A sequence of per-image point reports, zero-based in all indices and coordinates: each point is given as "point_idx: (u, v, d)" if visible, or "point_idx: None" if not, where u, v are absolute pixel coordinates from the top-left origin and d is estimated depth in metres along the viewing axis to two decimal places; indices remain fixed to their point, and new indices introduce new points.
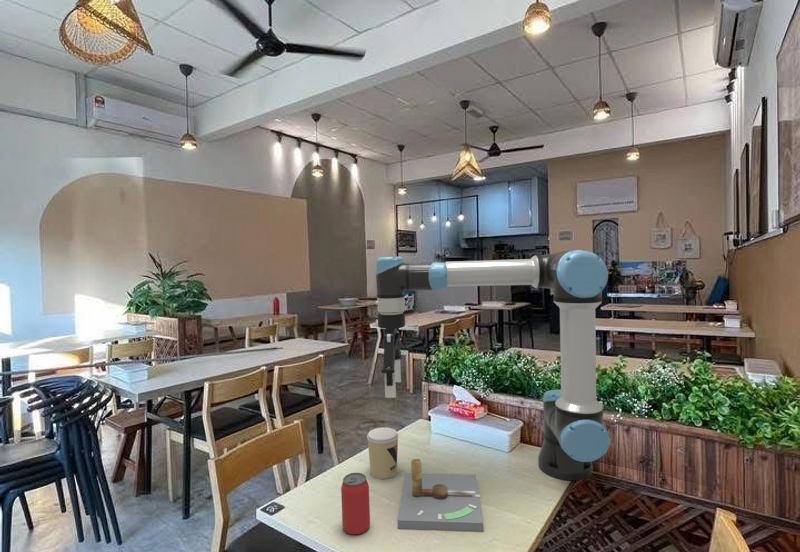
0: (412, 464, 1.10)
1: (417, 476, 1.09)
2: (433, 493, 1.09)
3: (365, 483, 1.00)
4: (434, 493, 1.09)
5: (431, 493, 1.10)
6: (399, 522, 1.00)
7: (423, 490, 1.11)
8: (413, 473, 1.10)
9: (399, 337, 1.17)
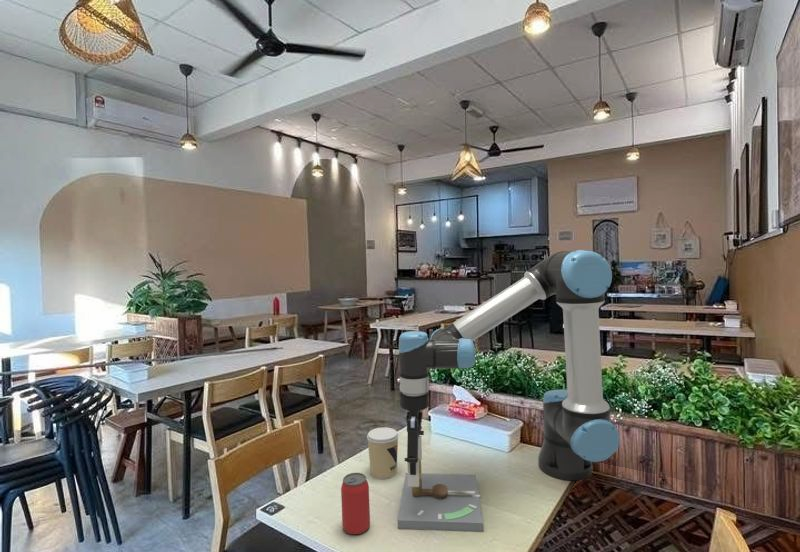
0: None
1: None
2: (433, 493, 1.09)
3: (365, 483, 1.00)
4: (434, 493, 1.09)
5: (431, 493, 1.10)
6: (399, 522, 1.00)
7: (423, 490, 1.11)
8: None
9: None
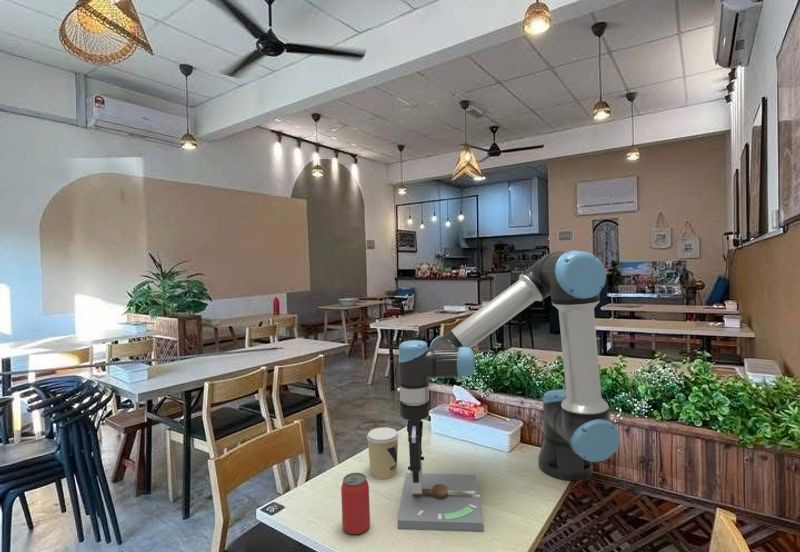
0: None
1: None
2: (433, 493, 1.09)
3: (365, 483, 1.00)
4: (434, 493, 1.09)
5: (431, 493, 1.10)
6: (399, 522, 1.00)
7: (423, 490, 1.11)
8: None
9: (422, 426, 1.11)
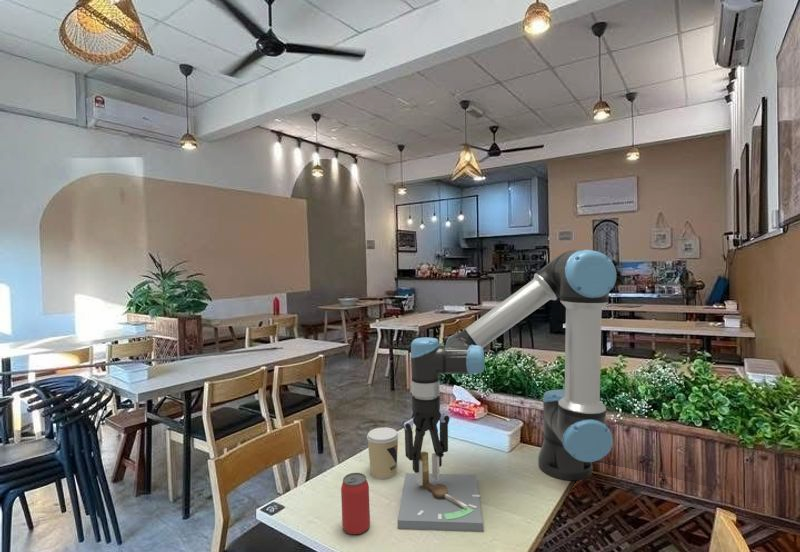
0: None
1: None
2: (432, 490, 1.11)
3: (365, 483, 1.00)
4: (432, 490, 1.10)
5: (431, 489, 1.11)
6: (399, 522, 1.00)
7: (428, 484, 1.14)
8: None
9: (432, 423, 1.13)
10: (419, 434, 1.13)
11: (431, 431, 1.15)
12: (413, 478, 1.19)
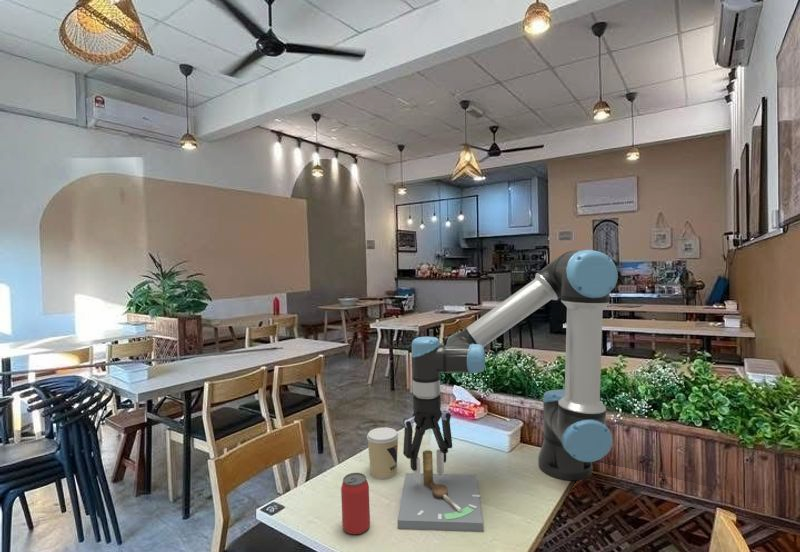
0: None
1: (424, 466, 1.15)
2: None
3: (365, 483, 1.00)
4: None
5: None
6: (399, 522, 1.00)
7: (431, 483, 1.14)
8: (423, 462, 1.16)
9: (433, 421, 1.14)
10: (419, 432, 1.13)
11: (433, 429, 1.16)
12: (413, 478, 1.19)
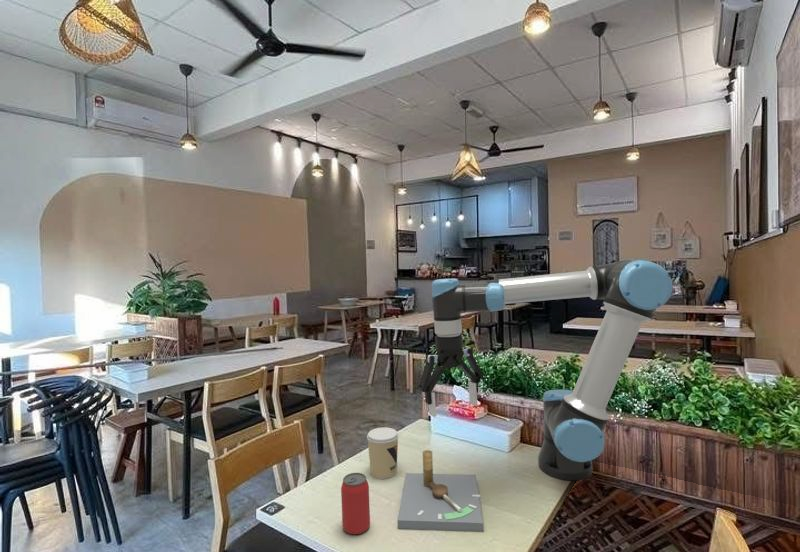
0: None
1: (424, 466, 1.15)
2: None
3: (365, 483, 1.00)
4: None
5: None
6: (399, 522, 1.00)
7: (431, 483, 1.14)
8: (423, 462, 1.16)
9: (457, 360, 1.16)
10: (439, 368, 1.15)
11: (460, 366, 1.19)
12: (413, 478, 1.19)
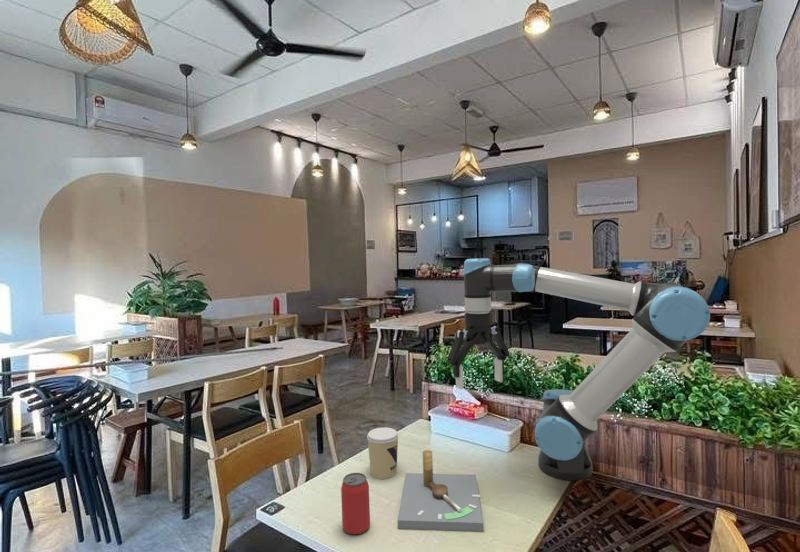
0: None
1: (424, 466, 1.15)
2: None
3: (365, 483, 1.00)
4: None
5: None
6: (399, 522, 1.00)
7: (431, 483, 1.14)
8: (423, 462, 1.16)
9: (485, 336, 1.21)
10: (468, 344, 1.20)
11: (487, 343, 1.24)
12: (413, 478, 1.19)
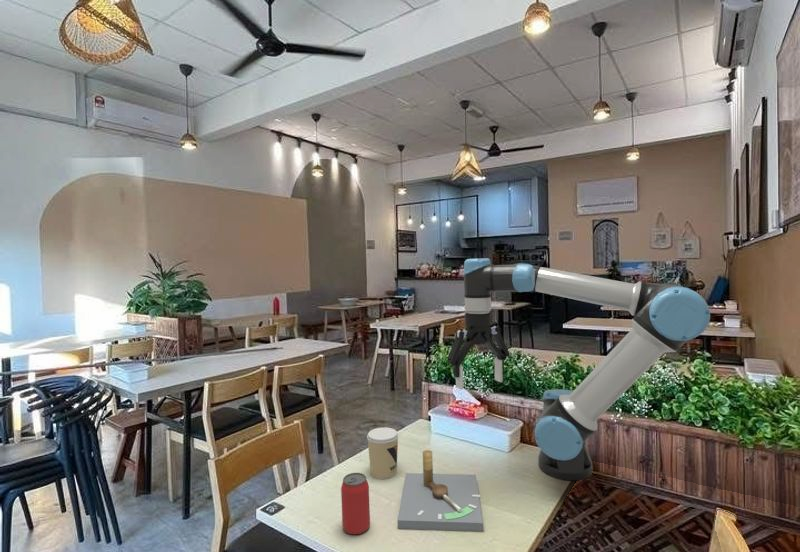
0: None
1: (424, 466, 1.15)
2: None
3: (365, 483, 1.00)
4: None
5: None
6: (399, 522, 1.00)
7: (431, 483, 1.14)
8: (423, 462, 1.16)
9: (485, 336, 1.21)
10: (468, 344, 1.20)
11: (487, 343, 1.24)
12: (413, 478, 1.19)
